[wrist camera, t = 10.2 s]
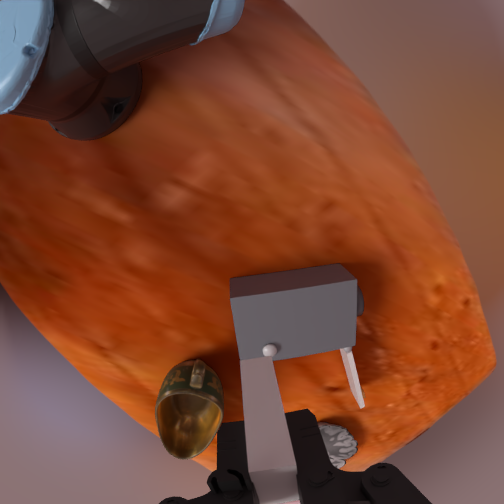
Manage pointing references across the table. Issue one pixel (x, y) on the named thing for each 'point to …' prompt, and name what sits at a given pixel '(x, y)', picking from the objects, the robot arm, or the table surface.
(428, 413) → the table surface
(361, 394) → the door
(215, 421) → the cup
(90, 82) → the robot arm
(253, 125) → the table surface
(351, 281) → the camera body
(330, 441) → the brain slice
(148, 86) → the table surface
